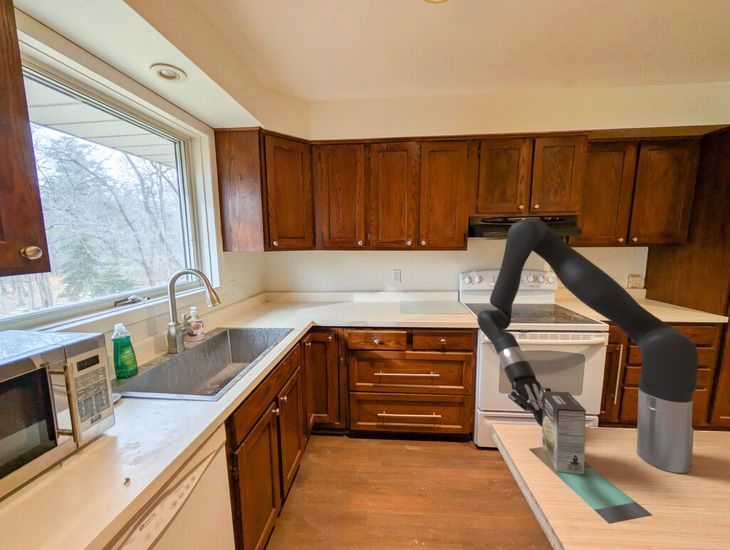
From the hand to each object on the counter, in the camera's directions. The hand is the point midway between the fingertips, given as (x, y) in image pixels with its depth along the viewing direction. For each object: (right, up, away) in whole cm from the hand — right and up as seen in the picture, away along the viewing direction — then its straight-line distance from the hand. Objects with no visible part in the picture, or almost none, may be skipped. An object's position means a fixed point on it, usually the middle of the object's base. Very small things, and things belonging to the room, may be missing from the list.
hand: (545, 425), depth 78 cm
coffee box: (+1, -6, -5) cm, 8 cm away
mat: (+2, -7, -11) cm, 13 cm away
